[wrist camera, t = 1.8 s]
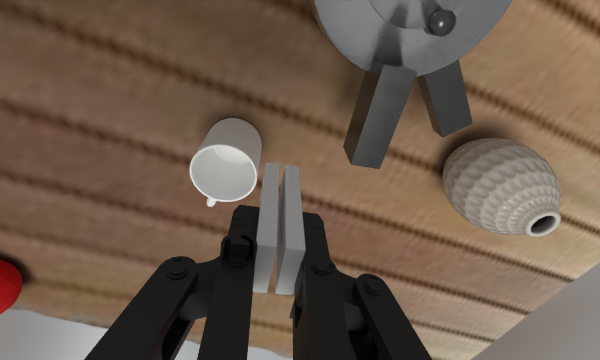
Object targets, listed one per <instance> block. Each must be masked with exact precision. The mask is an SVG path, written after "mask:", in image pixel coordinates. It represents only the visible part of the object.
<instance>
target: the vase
mask: <svg viewBox="0 0 600 360" xmlns="http://www.w3.org/2000/svg"><path fill="white" fill-rule="evenodd" d="M442 182H443V189H444V192H445V195H446V197H447V199H448V201H449V202H450V204H451V205H452V207H453V208H454V209H455V210H456V211H457V213H458V214H460V215H461V216H462V217H463V218H464V219H465V220H467V221H468V222H470V223H472V224H473V225H475V226H477V227H479V228H482V229H484V230H487V231H490V232H493V233H497V234H504V235H528V236H531V237H540V236H544V235H546V234H548V233H550V232H552V231H553V230H554V229H555V228H556V227H557V226H558V225H559V223H560V221H561V216H560V214H559V209H560V205H561V187H560V184H559V181H558V178H557V176H556V174H555V172H554V170H553V169H552V167H551V166H550V165H549V163H548V162H547V161H546V160H545V159H544V158H543V157H542V156H541V155H539V154H538V153H537V152H535V151H534V150H532V149H531V148H529V147H527V146H525V145H523V144H520V143H518V142H516V141H512V140H507V139H502V138H484V139H478V140H474V141H470V142H467V143H465V144H463V145H462V146H460V147H459V148H457V149H456V150H455V151H454V152H453V153H452V154H451V155H450V156H449V158H448V159H447V161H446V163H445V165H444V169H443V175H442Z"/></svg>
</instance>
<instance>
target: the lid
mask: <svg viewBox="0 0 600 360" xmlns="http://www.w3.org/2000/svg"><path fill="white" fill-rule="evenodd" d="M313 1H314V5H315V8H316V11H317V15H318V18H319V20H320V22H321V24H322V26H323V29H324V31H325V32H326V34H327V35H328V37H329V39H330V40H331V42H332V43H333V44H334V45H335V47H336V48H337V49H338V50H339V51H340V52H341V53H342V54H343V55H344V56H345V57H346V58H347V59H348V60H350V61H351V62H352V63H354V64H355V65H357V66H359V67H360V68H362V69H364V70H366V73H365V76H364V79H363V83H362V86H361V89H360V92H359V96H358V99H357V102H356V106H355V109H354V112H353V116H352V119H351V122H350V126H349V129H348V132H347V136H346V139H345V142H344V145H343V147H344V150H345V152H346V154H347V157H348V159H349V161H350V164H351V165H357V166H363V167H369V168H376V169H380V167H381V164H382V161H383V159H384V156H385V154H386V151H387V149H388V146H389V144H390V141H391V139H392V136H393V134H394V131H395V128H396V126H397V123H398V121H399V118H400V116H401V113H402V111H403V108H404V106H405V103H406V100H407V98H408V95H409V93H410V90H411V88H412V85H413V83H414V80H415V78H416V76H421V75H425V74H428V73H432V72H434V71H436V70H439V69H441V68H444V67H445V66H447V65H449V64H451V63H453V62H454V61H456V60H458V59H459V58H460V57H462V56H463V55H465V54H466V53H468V52H469V51H470V50H471V49H472V48H473V47H475V46H476V45H477V44H478V43H479V42H480V41H481V40H482V39H483V38H484V37H485V36H486V35H487V34H488V33H489V32H490V31H491V30H492V28H493V27H494V26H495V25H496V23H497V22H498V21H499V20H500V18H501V17H502V16H503V14H504V13H505V11H506V10H507V8H508V7H509V5H510V4H511V2H512V0H313Z"/></svg>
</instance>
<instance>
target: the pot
mask: <svg viewBox="0 0 600 360" xmlns="http://www.w3.org/2000/svg"><path fill="white" fill-rule="evenodd" d="M309 4H310V8H311V11H312V13H313V16H314V18H315V20H316V22H317V24H318V26H319V28H320V29H321V30H322V32H323V33H324V35H325V36H326V37H327V38H328V39H329V37H328V35H327V34H326V32H325V31H324V29H323V26H322V24H321V22H320V20H319V18H318V15H317V11H316V8H315V5H314V1H313V0H309ZM329 40H330V39H329ZM330 41H331V40H330ZM417 78H418V81H419V84H420V88H421V91H422V94H423V97H424V101H425V104H426V107H427V111H428V114H429V117H430V120H431V124H432V127H433V130H434V131H435V132H436V133H438V134H439V135H440V136H441V137H445V136H447V135H449V134H451V133H453V132H455V131H457V130H460V129H462V128H464V127H466V126H468V125H470V124H472V118H471V114H470V109H469V104H468V100H467V95H466V91H465V86H464V82H463V77H462V73H461V68H460V64H459V59H458V60H456V61H454V62H453V63H451V64H449V65H447V66H445V67H444V68H441V69H439V70H436V71H434V72H432V73H428V74H425V75H421V76H417Z"/></svg>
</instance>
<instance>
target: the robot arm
mask: <svg viewBox="0 0 600 360" xmlns="http://www.w3.org/2000/svg"><path fill="white" fill-rule="evenodd" d="M278 181H279V164H277V163H270V162H266V165H265V171H264V178H263V185H262V191H261V198H260V205H259V207H253V206H245V205H239V206H238V207H237V208H236V209H235V210H234V212H233V216H232V220H231V224H230V228H229V232H228V235H227V236H226V237H224V238H223V240H222V242H221V252H220V256H219V257H217V258H216V259H214V260H211V261H208V262H203V263H197V264H196V262H195V261H194V260H193V259H191V258H189V257H183V256H178V257H172V258H170V259H168V260H166V261H165V262H163V263H162V264H161V265H160V266H159V267H158V269H157V270H156V271H155V272H154V274H153V275H152V276H151V277H150V278H149V280H148V281H147V282H146V283H145V285H144V286H143V287H142V288H141V290H140V291H139V292H138V293H137V295H136V296H135V297H134V298H133V300H132V301H131V302H130V303H129V305H128V306H127V307H126V308H125V310H124V311H123V312H122V313H121V315H120V316H119V317H118V318H117V319H116V321H115V322H114V323H113V324H112V326H111V327H110V328H109V329H108V331H107V332H106V333H105V334H104V336H103V337H102V338H101V339H100V341H99V342H98V343H97V344H96V346H95V347H94V348H93V349H92V351H91V352H90V353H89V354H88V356H87V357H86V358H85V359H84V360H174V359H175V357H176V356H177V354H178V352H179V350H180V348H181V346H182V344H183V342H184V341H185V339H186V337H187V335H188V333H189V331H190V329H191V328H192V326H193V324H194V322H195V320H196V319H199V318H203V317H207V318H206V323H205V327H204V332H203V336H202V340H201V345H200V349H199V354H198V358H197V360H247V352H248V341H249V329H250V317H251V305H252V294H253V292H260V293H267V289H268V284H269V280H270V275H271V270H272V265H273V261H274V256H275V251H276V283H275V294H284V295H293V292H294V289H295V300H294V303H293V306H292V310H291V313H290V318H292V317H293V360H432V358H431V357H430V355H429V353H428V352H427V350H426V348H425V347H424V345H423V344H422V342H421V340H420V339H419V337H418V335H417V334H416V332H415V330H414V329H413V327H412V325H411V324H410V322H409V320H408V319H407V317H406V316H405V314H404V312H403V311H402V309H401V307H400V306H399V304H398V302H397V301H396V299H395V297H394V296H393V294H392V292H391V291H390V289H389V288H388V286H387V285H386V283H385V282H384V281H383V280H382V279H380V278H379V277H378V276H375V275H373V274H362V275H360V276H359V277H358V278H357V279H356V278H353V277H351V276H348V275H345V274H343V273H341V272H340V271H338V270H337V268H336V266H335V264H334V263H333V262H332V261H331V260H330V256H329V250H328V245H327V240H326V236H325V235H326V234H325V230H324V224H323V220H322V219H321V218H320V216H319V215H318V214H314V213H306V212H302V204H301V193H300V182H299V171H298V167H297V166H290V165H285V169H284V174H283V179H282V184H281V189H280V195H279V200H278ZM277 213H278V218H277ZM276 245H277V250H276Z"/></svg>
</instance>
